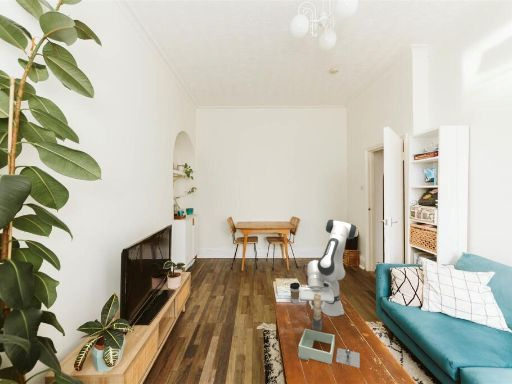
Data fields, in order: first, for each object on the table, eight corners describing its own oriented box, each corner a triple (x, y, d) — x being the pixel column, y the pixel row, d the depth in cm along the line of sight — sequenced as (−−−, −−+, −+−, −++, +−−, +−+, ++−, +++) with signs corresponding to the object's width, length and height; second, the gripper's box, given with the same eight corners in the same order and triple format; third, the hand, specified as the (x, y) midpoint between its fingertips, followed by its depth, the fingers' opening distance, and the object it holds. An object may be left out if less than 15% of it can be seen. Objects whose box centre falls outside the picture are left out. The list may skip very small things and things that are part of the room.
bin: (305, 339, 155) (305, 328, 155) (334, 346, 148) (334, 335, 148) (298, 357, 139) (298, 345, 138) (331, 366, 132) (331, 354, 131)
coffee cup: (301, 303, 202) (301, 285, 201) (292, 304, 199) (292, 286, 199) (297, 298, 210) (297, 281, 209) (288, 300, 207) (288, 282, 207)
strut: (313, 324, 146) (313, 293, 145) (322, 326, 144) (322, 294, 144) (312, 328, 141) (312, 296, 141) (320, 330, 139) (321, 298, 139)
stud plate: (337, 350, 145) (337, 340, 144) (359, 355, 140) (359, 345, 140) (335, 364, 134) (335, 353, 133) (359, 370, 129) (359, 359, 129)
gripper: (298, 283, 150) (299, 306, 141) (332, 284, 148) (336, 308, 138) (298, 287, 155) (299, 310, 145) (331, 288, 152) (334, 312, 143)
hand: (317, 309), depth 142 cm, fingers closed on strut, 4 cm apart
